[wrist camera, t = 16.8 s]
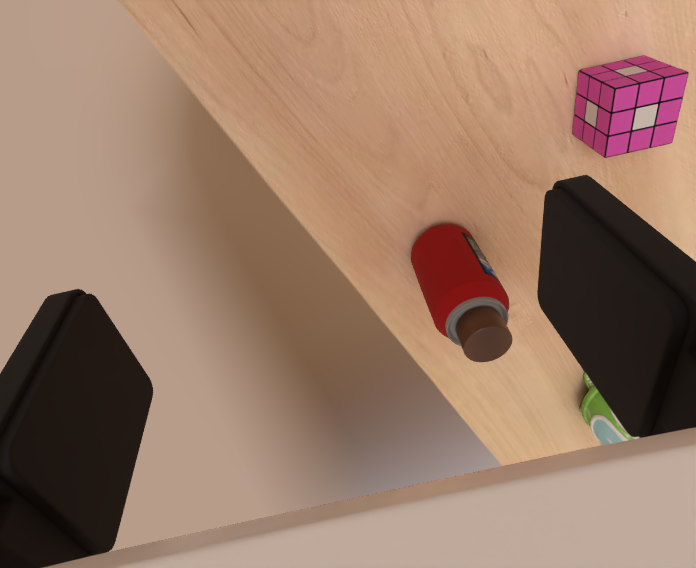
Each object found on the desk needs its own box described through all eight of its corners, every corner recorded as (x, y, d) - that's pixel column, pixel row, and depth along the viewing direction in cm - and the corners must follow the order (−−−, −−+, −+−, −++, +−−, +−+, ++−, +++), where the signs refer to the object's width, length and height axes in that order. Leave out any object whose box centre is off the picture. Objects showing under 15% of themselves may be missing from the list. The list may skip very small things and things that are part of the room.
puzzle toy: (644, 54, 41) (690, 71, 36) (633, 120, 44) (673, 143, 40) (578, 69, 41) (614, 88, 36) (571, 134, 44) (604, 158, 40)
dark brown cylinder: (456, 346, 42) (465, 367, 40) (453, 312, 40) (462, 333, 38) (501, 335, 42) (512, 356, 40) (501, 301, 40) (512, 321, 38)
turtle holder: (582, 440, 75) (626, 515, 66) (566, 370, 65) (615, 448, 55) (663, 413, 73) (720, 486, 64) (660, 337, 63) (727, 411, 53)
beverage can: (466, 273, 53) (507, 350, 43) (406, 276, 52) (433, 355, 43) (477, 218, 49) (524, 290, 39) (411, 221, 48) (443, 295, 39)
